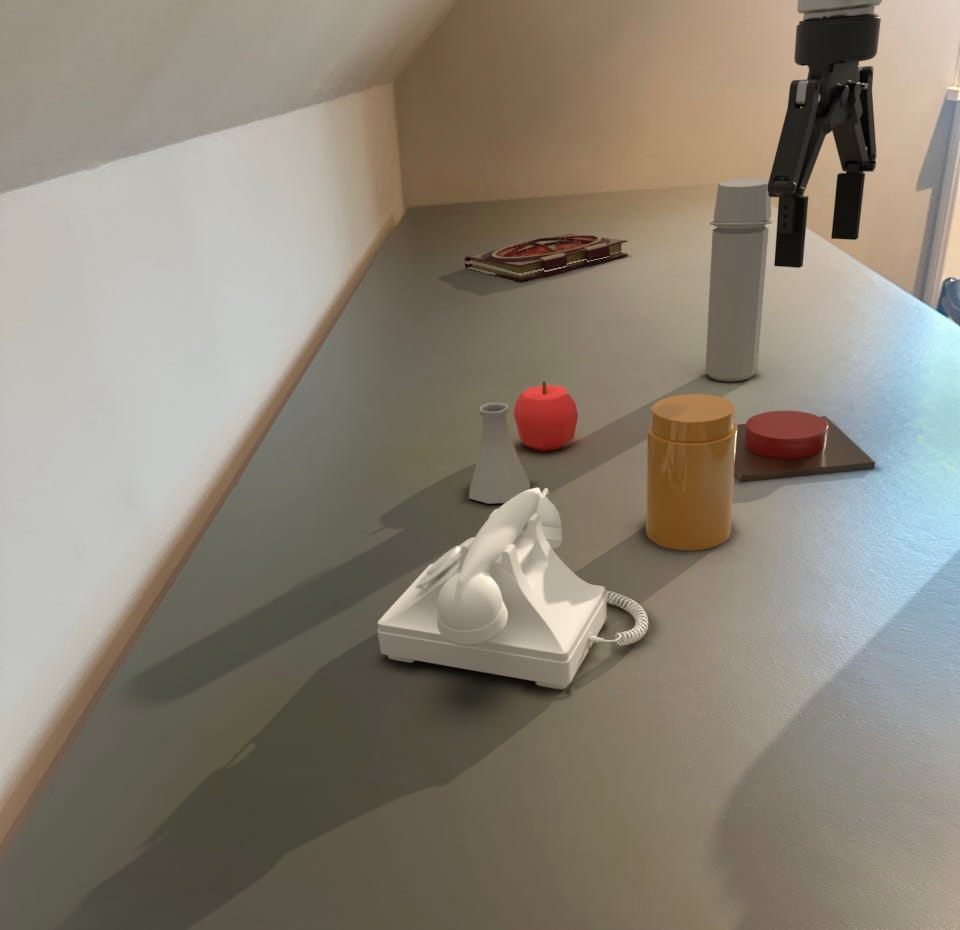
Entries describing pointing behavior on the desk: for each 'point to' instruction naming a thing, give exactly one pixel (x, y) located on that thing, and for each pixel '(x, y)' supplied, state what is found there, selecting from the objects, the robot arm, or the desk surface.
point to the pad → (832, 459)
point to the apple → (545, 417)
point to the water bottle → (737, 278)
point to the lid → (786, 434)
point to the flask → (497, 460)
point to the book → (549, 255)
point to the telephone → (505, 603)
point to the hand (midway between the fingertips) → (817, 252)
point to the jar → (690, 471)
